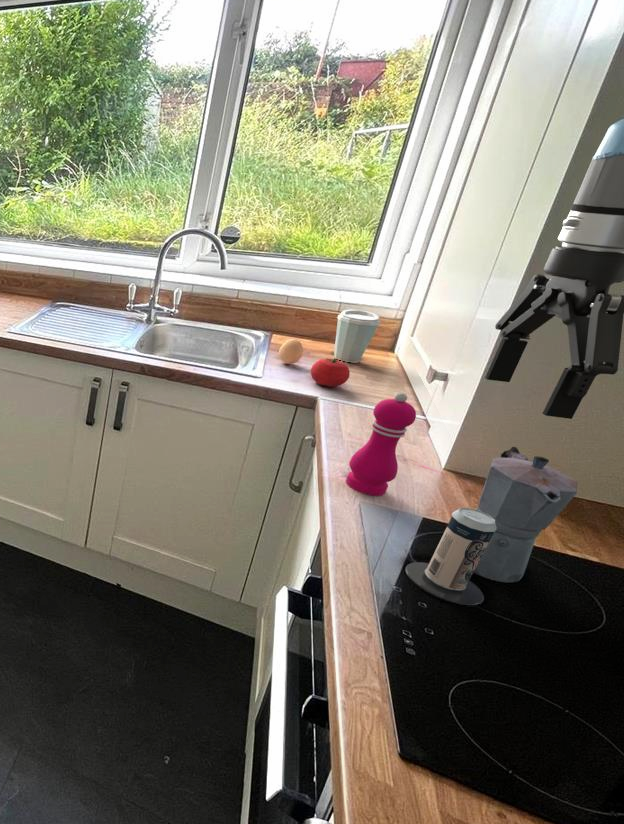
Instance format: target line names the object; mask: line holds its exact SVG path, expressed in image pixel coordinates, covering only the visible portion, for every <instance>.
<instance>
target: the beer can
mask: <svg viewBox="0 0 624 824" xmlns="http://www.w3.org/2000/svg"><path fill="white" fill-rule="evenodd" d="M496 529H497V527H496V523H495V520H494V519H493V518H492V517H491V516H490V515H488V514H485V513H483V512H481V511H479V510H477V509H474V508H470V507H459V509H456V510H454V511H453V512H451V517H450V520H449V521H448V524H447V526H446V527H445V530H444V532H443V535H442V536H441V539H440V540H439V542H438V544H437V547H436V548H435V551H434V553H433V555H432V556H431V559H430V561H429V565H428V567H427V569H426V570H425V574H426V575H427V577H428V578H429V579H430V580H431V581H432V582H434V583H435V584H437V585H439V586H441V587H443V588H446V589H450V590H464V589H465V588H466V585H467V583H468V581H470V579H471V578H472V576H473V574H474V573H473V572H474V570H475V568H476V566H477V564H478V562H479V560H480V558H481V556H482V555H483V553H484V551H485V549H486V547H487V545H488V543H489V541H490V539H491V537H492V535H493V534H494V532H495V531H496Z"/></svg>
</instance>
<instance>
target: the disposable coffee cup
mask: <svg viewBox="0 0 624 824" xmlns="http://www.w3.org/2000/svg"><path fill="white" fill-rule="evenodd" d="M336 319H337V325H336V331H335V332H336V333H335V340H334V341H335V342H334V350H333V358H334V357H335V358H336V359H338V360H341V362H343V361H345V362H344V363H347V362H351V363H350V364H358V363H359V362H360V360H362V357H363V356H364V354H365V352H366V350H367V348H368V346H369V345H370V342H371V340H372V338H373V337H374V334H375V333H376V331H377V329H378V327H379V326H380V324H381V321H382V320H381V319H380V316H379V315H378V314H376V313H373V312H371V311H366V310H361V309H360V310H359V309H344V310H342V311H341V312H340V314H338V315H337V317H336Z"/></svg>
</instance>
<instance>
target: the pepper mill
mask: <svg viewBox="0 0 624 824" xmlns="http://www.w3.org/2000/svg"><path fill="white" fill-rule="evenodd" d="M407 400H408V395H407V394H406V393H405V392H397V393H396V394H394V398H386V399H382V400H381V401H379V402H378V403H376V405H375V406H374V408H373V412H372V413H373V416H374V418H375V419H374V420H372V424H371V425H370V428H371V429H372V432H371V435H370V437H369V440H368V441H367V442H366V443H365V444H363V446H362V447H360V448H359V449H358V450H357V451H355V453H354V454H353V455H352V456H351V457H350V460H349V462H348V465H349V469H350V470H351V471H349V472H348V473H347V476H346V479H345V483H346V485H347V486H348V487H350V488H351V489H353V490H355V491H356V492H359V493H362V494H364V495H367V496H368V495H369V496H372V497H373V496H374V497H380V496H384V495H386V492H387V491H388V488H389V484H388V483H389V482H392V481H393V480H395V479H396V478H397V474H398V472H399V471H398V469H399V464H398V459H397V453H396V452H397V451H396V449H397V445H398V443H399V441H400V439H401V438H404V437H405V436H406V433H407V430H408V429H407V427H409V426H411V425H413V424H414V422H415V421H416V419H417V412H416V409H415V408H414V406H413V405H412V404H411V403H409V402H407Z"/></svg>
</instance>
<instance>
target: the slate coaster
mask: <svg viewBox="0 0 624 824" xmlns="http://www.w3.org/2000/svg"><path fill="white" fill-rule="evenodd" d="M429 563H430V562H429ZM429 563H428V562H422V561H421V562H419V561H417V562H416V561H415V562H410V563H409V564H406V567H405V568H404V573H405V575H406V577H407V578H408V580H409V581H410V582H411V583H412V584H413V585H415V586H416V587H417V588H418V589H420V590H421V591H423V590H424V591H423V592H424V593H426V592H427V593H426V594H428V593H429V594H428V595H430V594H431V595H430V596H432V595H433V596H432V597H434V596H435V597H434V598H436V597H437V598H436V599H438V598H440V599H439V600H441V599H444V600H445V601H444V602H446V601H449V602H452V603H456V604H460V605H459V606H461V605H467V606H466V607H470V606H471V605H478V604H480V605H482V604H483V602H484V600H485V596H484V593H483V592H482V590H481V589H480V588H479V587H478V586H477V585H476V584H475V583H473V582H472V581H471V580H469V581H468V583H467V585H466V588H465V589H464V590H450V589H446V588H443V587H441V586H439V585H437V584H435V583H434V582H432V581H431V580H430V579H429V578H428V577H427V575H426V574H425V570H426V569H427V567H428V565H429ZM449 602H448V603H449ZM452 603H451V604H452ZM456 604H455V605H456ZM478 606H479V605H478ZM471 607H472V606H471Z"/></svg>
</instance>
